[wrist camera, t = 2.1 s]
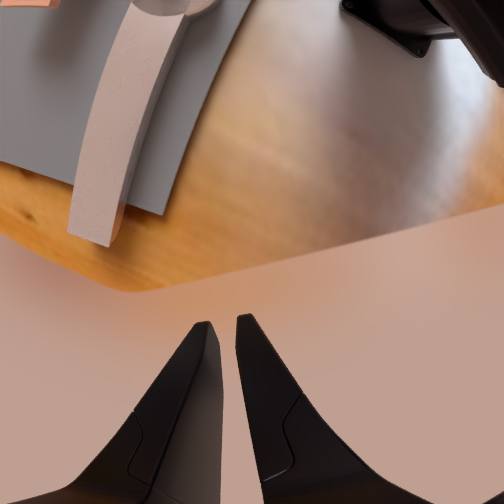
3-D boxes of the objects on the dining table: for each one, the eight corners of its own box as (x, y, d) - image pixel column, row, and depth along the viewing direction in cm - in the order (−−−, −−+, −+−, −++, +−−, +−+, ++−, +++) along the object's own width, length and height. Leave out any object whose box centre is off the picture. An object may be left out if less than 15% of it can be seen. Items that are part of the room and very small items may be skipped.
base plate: (285, -58, 12) (287, -64, 11) (165, 209, 21) (162, 215, 20) (28, -79, 7) (22, -82, 6) (-45, 140, 16) (-52, 143, 15)
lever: (160, -53, 11) (147, -74, 8) (239, -35, 12) (241, -57, 9) (68, 213, 19) (47, 235, 16) (132, 236, 20) (118, 261, 17)
